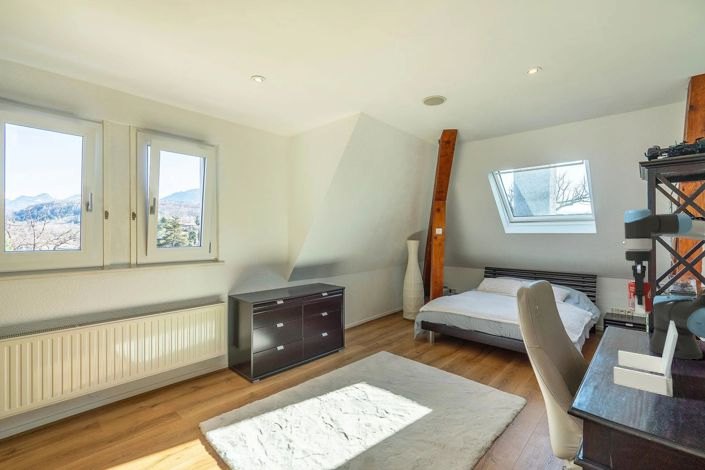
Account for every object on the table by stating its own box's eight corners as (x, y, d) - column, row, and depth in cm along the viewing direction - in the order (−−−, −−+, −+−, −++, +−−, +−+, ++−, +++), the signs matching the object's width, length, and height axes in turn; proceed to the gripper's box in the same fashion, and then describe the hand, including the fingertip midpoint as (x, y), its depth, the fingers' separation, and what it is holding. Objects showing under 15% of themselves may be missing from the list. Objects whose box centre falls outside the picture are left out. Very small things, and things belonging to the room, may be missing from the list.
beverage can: (656, 315, 116) (655, 282, 117) (636, 314, 118) (635, 281, 118) (643, 311, 123) (642, 279, 123) (625, 310, 124) (624, 279, 124)
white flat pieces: (669, 373, 109) (668, 358, 109) (672, 396, 93) (672, 379, 93) (618, 363, 118) (618, 350, 118) (613, 383, 102) (613, 367, 102)
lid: (662, 356, 110) (665, 357, 110) (664, 376, 94) (668, 377, 94) (670, 320, 109) (674, 321, 108) (674, 334, 93) (678, 335, 92)
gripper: (626, 249, 130) (628, 306, 130) (624, 251, 116) (626, 315, 115) (651, 249, 125) (653, 309, 125) (652, 251, 111) (654, 318, 110)
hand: (640, 311), depth 120 cm, fingers closed on beverage can, 6 cm apart
